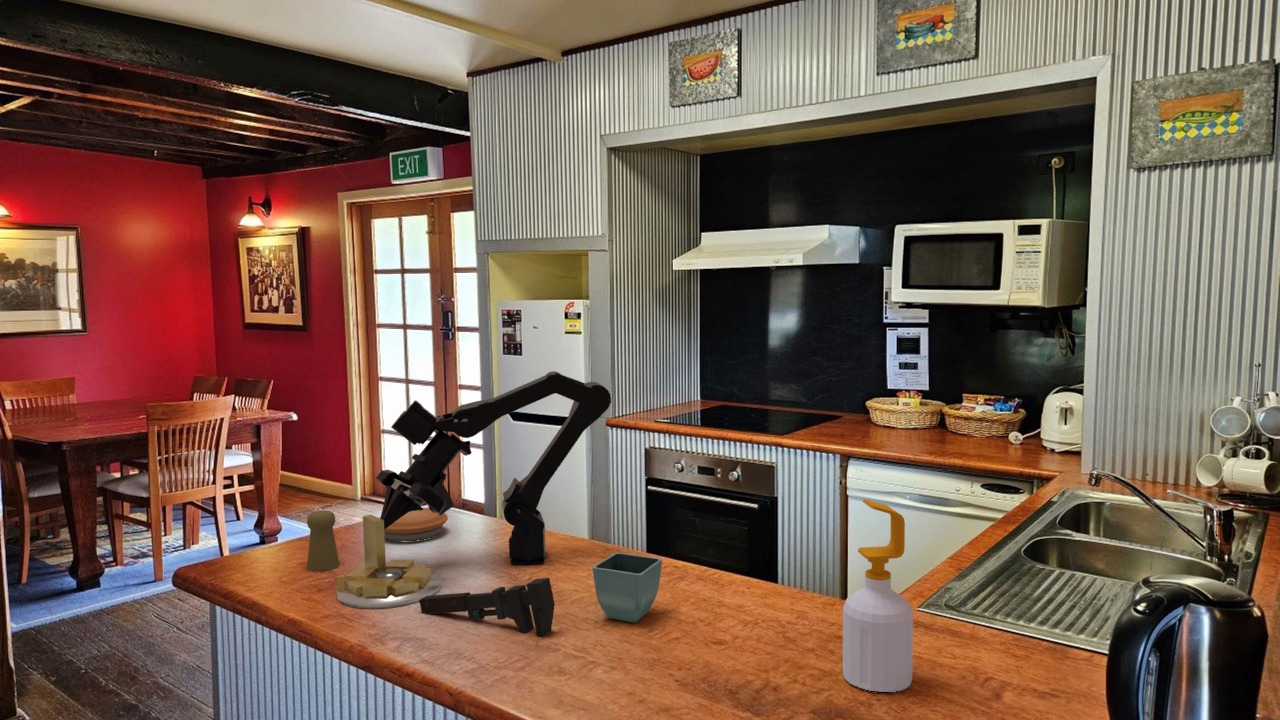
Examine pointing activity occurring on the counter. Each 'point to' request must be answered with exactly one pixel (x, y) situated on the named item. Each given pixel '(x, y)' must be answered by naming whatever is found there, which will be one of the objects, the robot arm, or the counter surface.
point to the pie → (416, 526)
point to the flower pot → (627, 585)
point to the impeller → (390, 600)
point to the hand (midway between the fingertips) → (381, 528)
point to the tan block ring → (383, 566)
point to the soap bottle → (879, 620)
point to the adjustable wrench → (501, 605)
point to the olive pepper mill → (322, 542)
